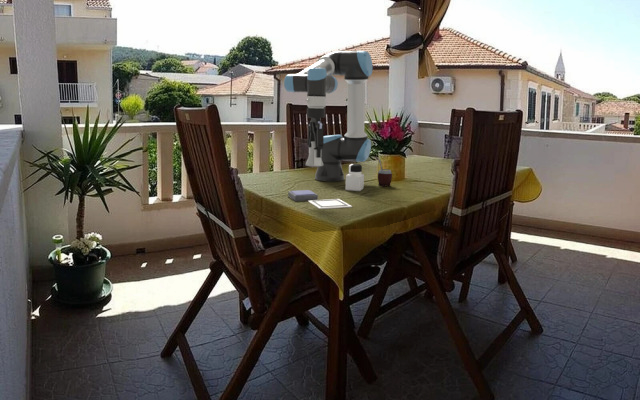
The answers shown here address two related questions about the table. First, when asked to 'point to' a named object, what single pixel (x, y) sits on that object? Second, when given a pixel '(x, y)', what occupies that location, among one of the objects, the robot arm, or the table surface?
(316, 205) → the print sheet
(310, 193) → the pad
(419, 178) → the table surface
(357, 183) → the medicine bottle
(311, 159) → the flask
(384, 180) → the mate gourd
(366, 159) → the robot arm
